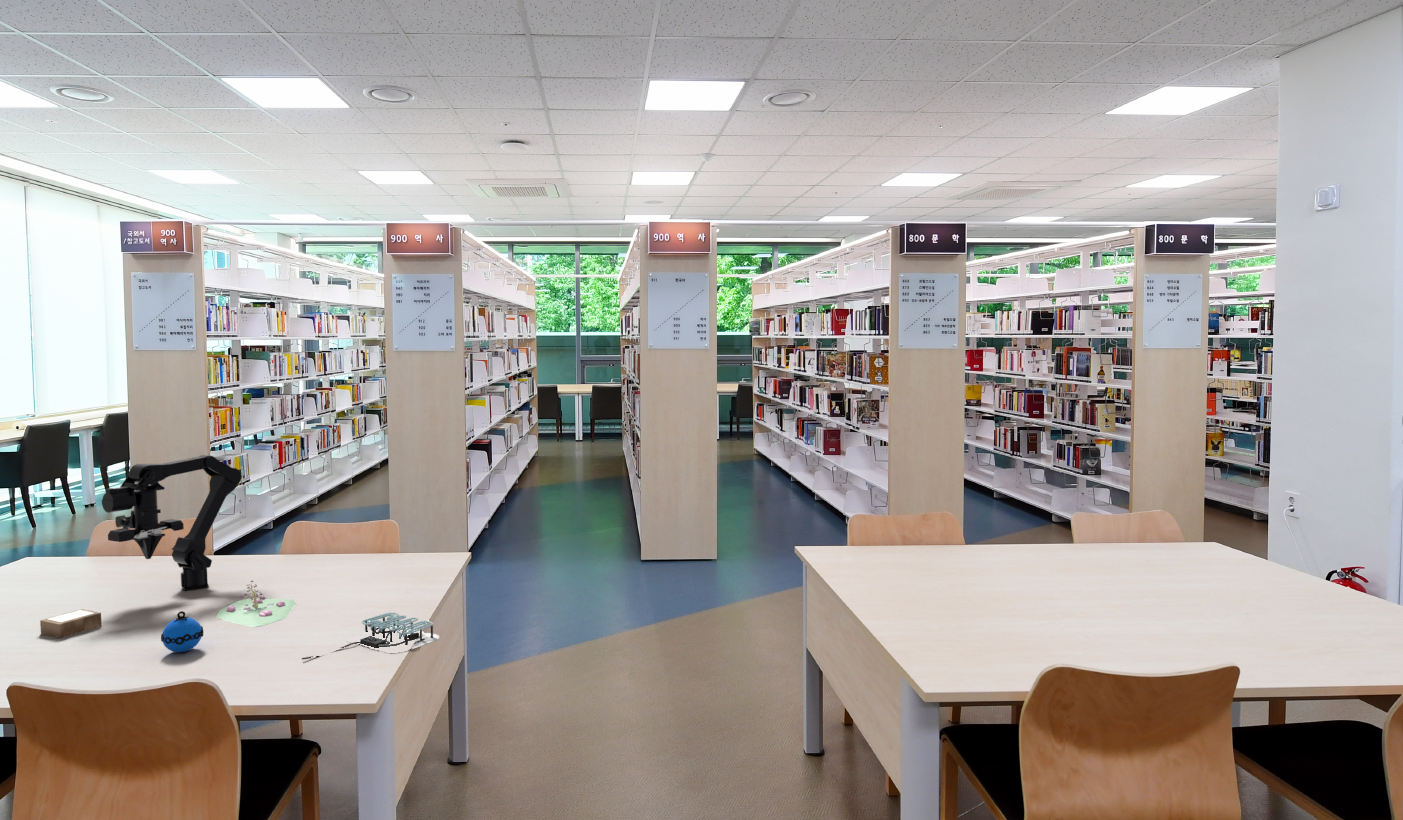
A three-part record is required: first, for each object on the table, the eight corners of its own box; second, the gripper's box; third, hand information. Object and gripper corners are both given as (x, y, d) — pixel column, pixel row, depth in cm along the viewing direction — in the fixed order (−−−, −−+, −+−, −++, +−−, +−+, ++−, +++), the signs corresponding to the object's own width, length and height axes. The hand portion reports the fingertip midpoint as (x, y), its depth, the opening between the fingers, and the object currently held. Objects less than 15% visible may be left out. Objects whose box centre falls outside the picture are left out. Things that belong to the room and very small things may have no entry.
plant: (313, 616, 226) (313, 585, 226) (231, 634, 212) (230, 600, 211) (284, 597, 244) (283, 567, 243) (206, 612, 230) (205, 581, 229)
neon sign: (287, 642, 194) (391, 609, 219) (288, 659, 195) (392, 624, 220) (342, 659, 183) (445, 622, 208) (343, 677, 184) (445, 638, 209)
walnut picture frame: (82, 608, 219) (40, 619, 210) (100, 612, 216) (59, 623, 207) (82, 623, 220) (40, 635, 210) (101, 627, 216) (59, 639, 207)
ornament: (159, 660, 193) (157, 619, 192) (165, 648, 200) (163, 608, 200) (201, 654, 196) (199, 614, 196) (205, 643, 204) (204, 604, 203)
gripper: (159, 499, 250) (161, 549, 251) (94, 510, 233) (97, 563, 234) (183, 502, 246) (185, 552, 247) (119, 513, 229) (121, 567, 230)
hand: (148, 558), depth 240 cm, fingers closed
